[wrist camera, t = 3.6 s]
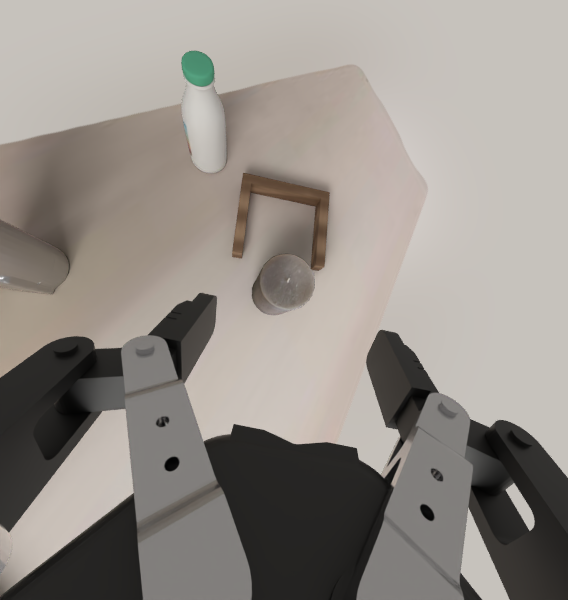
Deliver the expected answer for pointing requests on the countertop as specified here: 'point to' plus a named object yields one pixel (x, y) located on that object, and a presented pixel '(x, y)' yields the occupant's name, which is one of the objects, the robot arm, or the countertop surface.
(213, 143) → the milk bottle
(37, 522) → the countertop surface
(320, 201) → the display frame
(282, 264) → the pillar candle
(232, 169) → the countertop surface
